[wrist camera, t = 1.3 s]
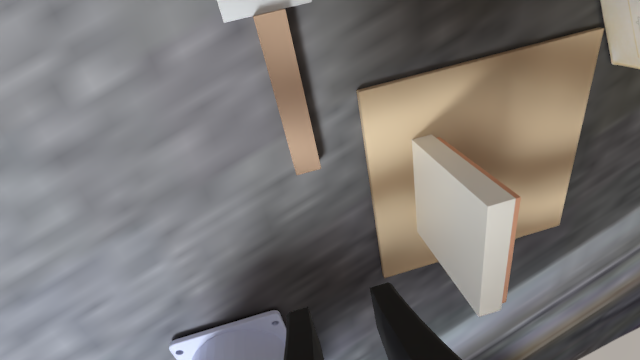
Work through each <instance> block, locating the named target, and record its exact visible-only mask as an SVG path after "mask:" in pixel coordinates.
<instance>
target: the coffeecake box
mask: <svg viewBox="0 0 640 360" xmlns="http://www.w3.org/2000/svg"><path fill="white" fill-rule="evenodd" d="M600 2H601V7H602V13H603V19H604V25H605V30H606V36H607V41H608V46H609V52H610V57H611V64H613V65H621V66H626V67H632V68H637V69H640V0H600Z"/></svg>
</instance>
